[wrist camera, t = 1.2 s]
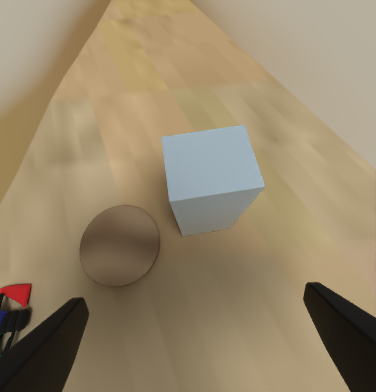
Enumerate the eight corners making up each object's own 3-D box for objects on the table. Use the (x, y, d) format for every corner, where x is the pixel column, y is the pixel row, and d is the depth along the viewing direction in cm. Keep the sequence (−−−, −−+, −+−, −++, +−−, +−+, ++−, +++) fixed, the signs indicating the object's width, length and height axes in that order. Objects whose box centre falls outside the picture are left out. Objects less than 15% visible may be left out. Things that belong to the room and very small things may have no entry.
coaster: (163, 279, 20) (162, 279, 20) (80, 292, 20) (77, 293, 19) (156, 201, 24) (155, 200, 23) (84, 212, 23) (82, 211, 23)
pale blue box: (229, 228, 22) (265, 186, 11) (182, 236, 22) (169, 201, 11) (221, 193, 24) (244, 124, 12) (177, 199, 24) (161, 137, 12)
